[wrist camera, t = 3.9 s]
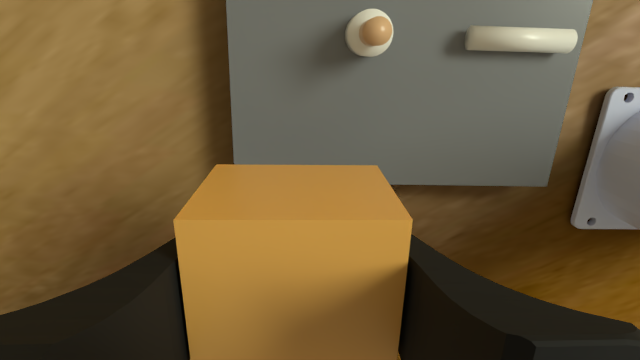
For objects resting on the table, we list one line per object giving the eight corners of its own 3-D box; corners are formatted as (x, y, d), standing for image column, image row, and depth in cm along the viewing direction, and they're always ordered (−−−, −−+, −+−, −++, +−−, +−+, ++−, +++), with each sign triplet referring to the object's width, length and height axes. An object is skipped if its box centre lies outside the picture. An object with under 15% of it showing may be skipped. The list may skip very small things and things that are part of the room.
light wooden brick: (377, 165, 12) (412, 219, 8) (367, 298, 14) (393, 396, 10) (216, 164, 12) (173, 219, 8) (226, 300, 14) (195, 401, 10)
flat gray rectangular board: (587, -76, 16) (687, -120, 12) (529, 177, 20) (589, 210, 16) (228, -95, 16) (200, -150, 11) (239, 173, 20) (222, 206, 15)
